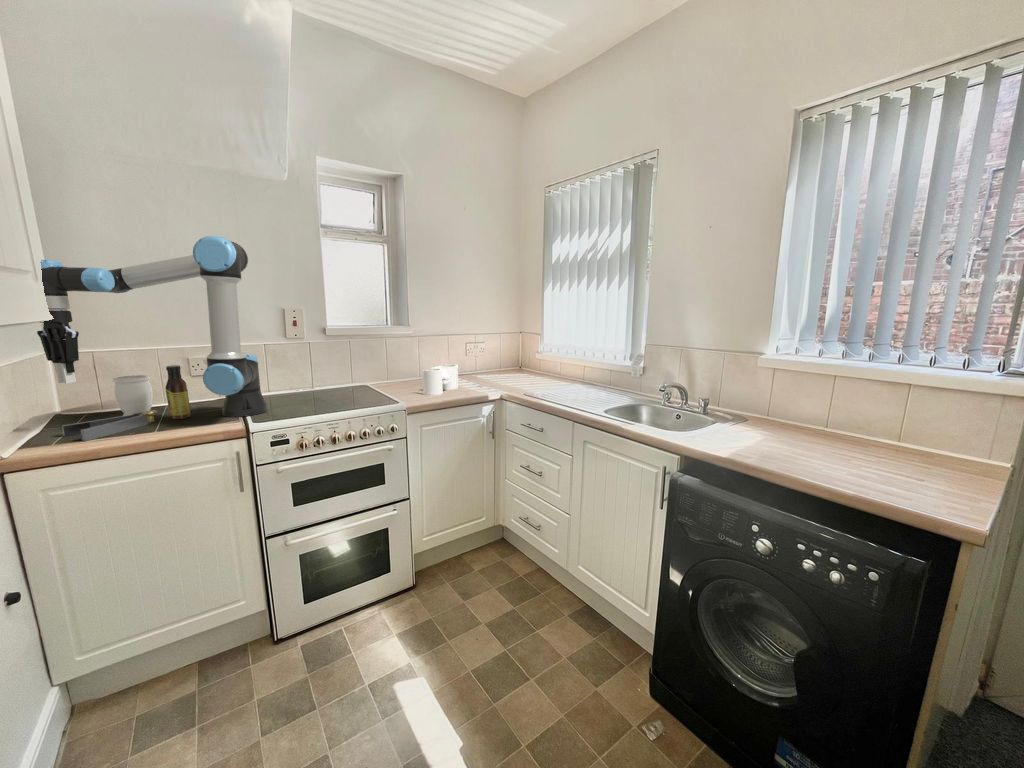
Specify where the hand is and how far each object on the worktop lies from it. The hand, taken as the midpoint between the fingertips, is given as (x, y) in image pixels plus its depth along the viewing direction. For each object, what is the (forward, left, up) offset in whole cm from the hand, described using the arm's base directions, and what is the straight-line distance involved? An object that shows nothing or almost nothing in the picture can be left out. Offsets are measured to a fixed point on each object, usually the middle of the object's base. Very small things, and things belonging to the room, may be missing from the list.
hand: (67, 382), depth 136 cm
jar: (-1, -19, -17) cm, 25 cm away
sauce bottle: (-19, -20, -17) cm, 32 cm away
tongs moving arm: (-10, -4, -16) cm, 20 cm away
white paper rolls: (-98, -90, -17) cm, 134 cm away
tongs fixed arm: (-14, -3, -16) cm, 22 cm away
